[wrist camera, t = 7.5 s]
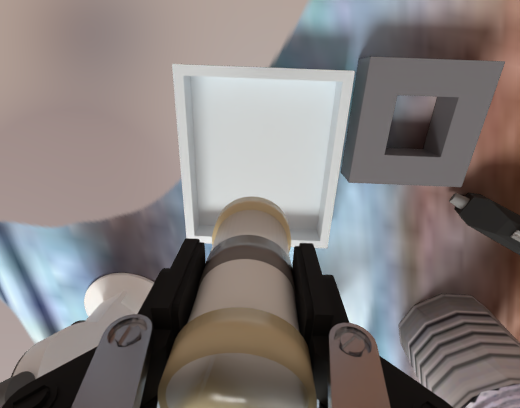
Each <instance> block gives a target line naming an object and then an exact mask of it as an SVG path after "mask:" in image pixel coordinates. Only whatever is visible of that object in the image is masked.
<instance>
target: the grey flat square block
mask: <svg viewBox="0 0 520 408" xmlns="http://www.w3.org/2000/svg"><path fill="white" fill-rule="evenodd" d="M504 64H505V62H504V61H477V60H450V59H423V58H396V57H366V58H361V59H359V61H358V68H357V74H356V80H355V87H354V93H353V99H352V106H351V112H350V118H349V124H348V131H347V137H346V143H345V150H344V156H343V162H342V169H341V173H342V174H343V176H344V177H345V178H346V179H347V181H348V182H349V183H373V184H397V185H422V186H447V187H462V184H463V181H464V178H465V175H466V172H467V170H468V167H469V164H470V161H471V158H472V155H473V152H474V150H475V147H476V144H477V141H478V138H479V135H480V132H481V129H482V127H483V124H484V121H485V118H486V115H487V112H488V109H489V107H490V104H491V101H492V98H493V95H494V92H495V89H496V87H497V84H498V81H499V78H500V75H501V72H502V69H503V66H504ZM397 95H409V96H435V97H437V100H436V104H435V108H434V111H433V115H432V119H431V122H430V126H429V129H428V133H427V137H426V140H425V144H424V148H423V149H408V148H386V145H387V141H388V136H389V131H390V127H391V122H392V118H393V113H394V109H395V104H396V99H397Z"/></svg>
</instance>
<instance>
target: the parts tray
mask: <svg viewBox="0 0 520 408" xmlns="http://www.w3.org/2000/svg"><path fill="white" fill-rule="evenodd" d="M172 70H173V80H174V81H173V82H174V93H175V105H176V117H177V129H178V140H179V153H180V165H181V177H182V189H183V201H184V213H185V225H186V237H187V238H192V239H199V240H200V242H204V243H212V234H213V230H214V227H215V224H216V221H217V219H218V216H219V214H220V212H221V211H222V210H223V208H224V207H225V206H227V205H228V204H229V203H231V202H232V201H234V200H236V199H239V198H243V197H250V196H254V197H261V198H265V199H267V200H270V201H272V202H273V203H275V204H276V205H277V206H279V207H280V208H281V209H282V211H283V212H284V213H285V215H286V217H287V219H288V223H289V228H290V234H291V247H295V246H299V244H300V243H313V245H314V248H327V247H328V241H329V234H330V228H331V221H332V215H333V209H334V202H335V196H336V189H337V183H338V177H339V170H340V164H341V157H342V151H343V145H344V138H345V132H346V125H347V119H348V113H349V106H350V100H351V93H352V87H353V80H354V74H355V71H347V70H320V69H293V68H267V67H240V66H214V65H186V64H172Z"/></svg>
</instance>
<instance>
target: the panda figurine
mask: <svg viewBox="0 0 520 408" xmlns="http://www.w3.org/2000/svg"><path fill="white" fill-rule="evenodd" d="M153 284H154V282H153V281H151V280H149V279H147V278H145V277H142V276H139V275H135V274H130V273H113V274H109V275H105V276H103V277H101V278H99V279H97V280H96V281H95V282H93V283H92V285H91V286H90V287H89V288H88V290H87V292H86V294H85V298H84V305H85V310H86V312H87V314H88V316H89V317H88V318H87V319H86V321H83V320H82V321H77V322H75V323H73V324H72V325H71V326H69V327H67V328H65V329H63V330H61V331H59V332H57V333H55V334H53V335H51V336H50V337H48V338H46V339H44V340H42V341H40V342H38V343H36V344H35V345H34V346H32V347H31V348H30V349H29V350H28V351H27V352H26V353H25V354H24V355H23V356H22V357H21V359H20V360H19V362H18V363H17V365H16V367H15V369H14V371H13V373H12V376H11V378H9V379H7V380H5V381H3V382H1V383H0V405H2V404H5V402H6V401H7V400H8V399H9V397H10V396H12V395H13V394H14V393H15V392H16V391H17V390H18V389H20V388H22V387H23V386H25V385H26V384H28V383H30V382H31V381H33V380H35V379H37V378H39V377H41V376H43V375H44V374H46V373H48V372H50V371H52V370H54V369H56V368H58V367H59V366H61V365H63V364H65V363H67V362H69V361H71V360H73V359H74V358H76V357H78V356H80V355H82V354H84V353H86V352H88V351H89V350H91V349H93V348H95V347H97V346H98V344H99V342H100V340H101V337H102V335H103V333H104V331H105V330H106V328H107V327H108V326H109V325H110V324H111V323H112V322H114V321H116V320H117V319H119V318H121V317H124V316H126V315H131V314H138V312H139V310H140V308H141V306H142V304H143V303H144V301H145V299H146V297H147V295H148V293H149V292H150V290H151V288H152V286H153Z"/></svg>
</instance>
